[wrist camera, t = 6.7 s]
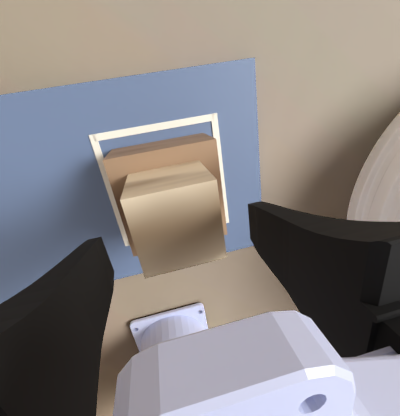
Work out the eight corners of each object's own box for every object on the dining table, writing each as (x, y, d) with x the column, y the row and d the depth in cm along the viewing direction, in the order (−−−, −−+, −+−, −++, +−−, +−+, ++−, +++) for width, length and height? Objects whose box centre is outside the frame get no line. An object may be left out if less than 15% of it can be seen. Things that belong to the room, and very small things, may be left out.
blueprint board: (259, 239, 25) (263, 243, 24) (-36, 311, 21) (-44, 319, 20) (250, 59, 18) (255, 57, 17) (-181, 123, 15) (-201, 124, 14)
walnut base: (214, 212, 21) (227, 234, 18) (136, 230, 21) (133, 256, 17) (203, 132, 19) (216, 138, 15) (111, 149, 18) (102, 160, 14)
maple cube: (208, 221, 17) (226, 257, 13) (145, 236, 17) (145, 278, 13) (198, 160, 15) (216, 179, 11) (127, 174, 15) (119, 200, 11)
